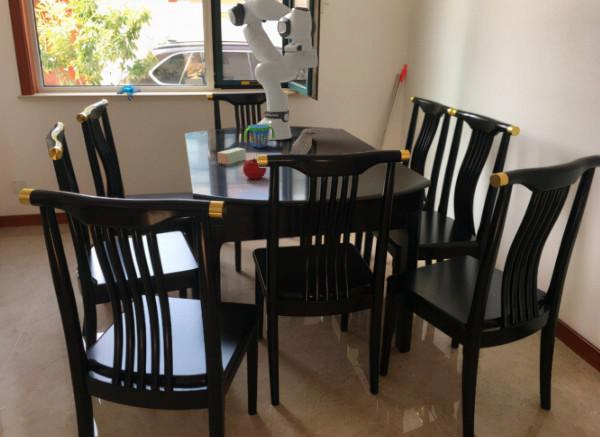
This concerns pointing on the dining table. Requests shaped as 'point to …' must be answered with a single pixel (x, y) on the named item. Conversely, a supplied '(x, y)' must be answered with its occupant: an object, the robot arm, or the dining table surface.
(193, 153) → the dining table surface
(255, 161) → the tomato
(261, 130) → the snack cup
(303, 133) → the bird
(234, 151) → the tall block
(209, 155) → the dining table surface
